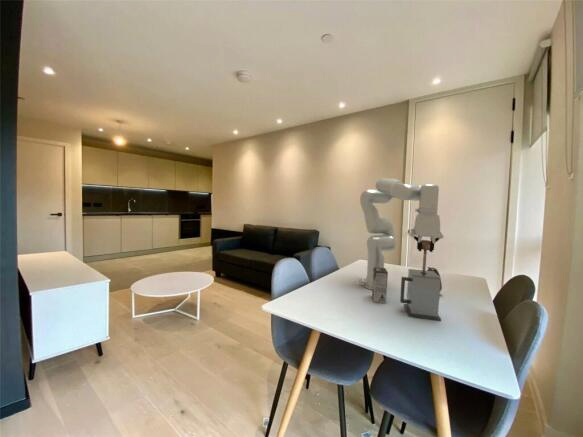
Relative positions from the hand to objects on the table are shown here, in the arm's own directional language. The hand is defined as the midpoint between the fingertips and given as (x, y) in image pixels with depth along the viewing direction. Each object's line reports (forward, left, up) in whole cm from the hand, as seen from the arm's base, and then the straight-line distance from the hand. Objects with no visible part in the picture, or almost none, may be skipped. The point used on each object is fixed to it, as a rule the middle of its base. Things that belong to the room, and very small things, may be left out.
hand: (425, 250), depth 116 cm
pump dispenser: (+12, +31, -30) cm, 45 cm away
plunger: (0, 0, -16) cm, 16 cm away
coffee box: (-18, +11, -30) cm, 36 cm away
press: (-1, 0, -29) cm, 29 cm away
